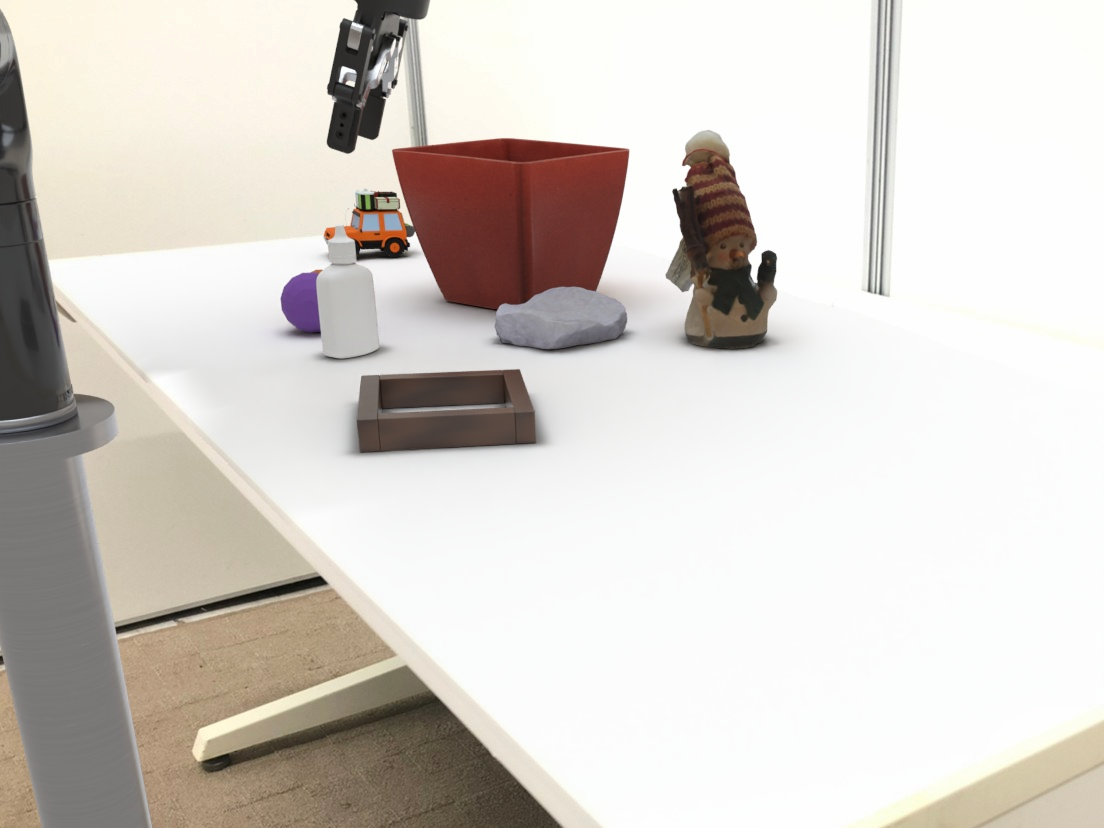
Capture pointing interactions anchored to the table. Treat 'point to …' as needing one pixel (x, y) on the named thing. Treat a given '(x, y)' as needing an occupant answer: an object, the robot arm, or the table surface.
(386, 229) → the toy car
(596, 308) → the stone block
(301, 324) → the purple maraca
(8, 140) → the robot arm
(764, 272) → the figurine
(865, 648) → the table surface
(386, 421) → the brown wooden square frame
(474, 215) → the flower pot
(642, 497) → the table surface
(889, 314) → the table surface
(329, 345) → the eye dropper bottle
